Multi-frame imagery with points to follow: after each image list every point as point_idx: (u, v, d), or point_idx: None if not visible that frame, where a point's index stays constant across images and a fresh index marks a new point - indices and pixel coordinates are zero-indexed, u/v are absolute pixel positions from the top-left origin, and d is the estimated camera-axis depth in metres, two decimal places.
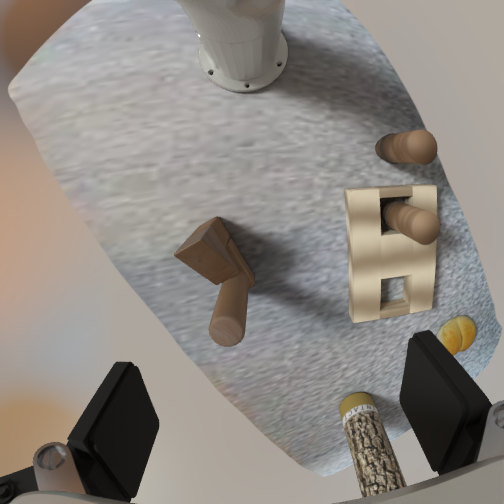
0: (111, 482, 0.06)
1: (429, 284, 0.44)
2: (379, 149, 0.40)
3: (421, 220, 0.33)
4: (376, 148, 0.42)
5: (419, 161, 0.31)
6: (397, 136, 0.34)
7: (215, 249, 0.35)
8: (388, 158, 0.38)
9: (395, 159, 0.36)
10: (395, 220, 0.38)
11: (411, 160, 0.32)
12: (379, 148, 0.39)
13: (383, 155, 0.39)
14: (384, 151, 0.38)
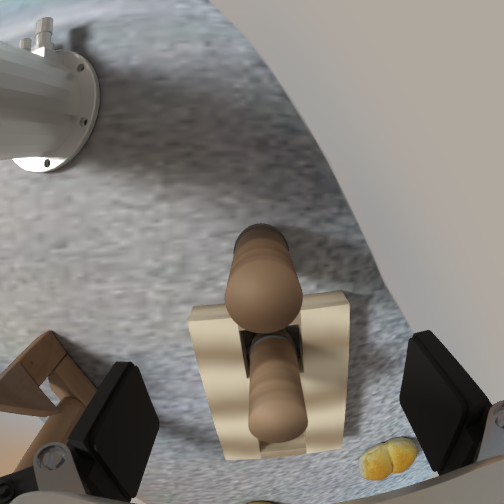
0: (111, 483, 0.06)
1: (336, 426, 0.30)
2: None
3: (265, 416, 0.19)
4: None
5: (253, 329, 0.17)
6: (237, 254, 0.20)
7: (10, 402, 0.20)
8: None
9: None
10: None
11: None
12: None
13: None
14: None
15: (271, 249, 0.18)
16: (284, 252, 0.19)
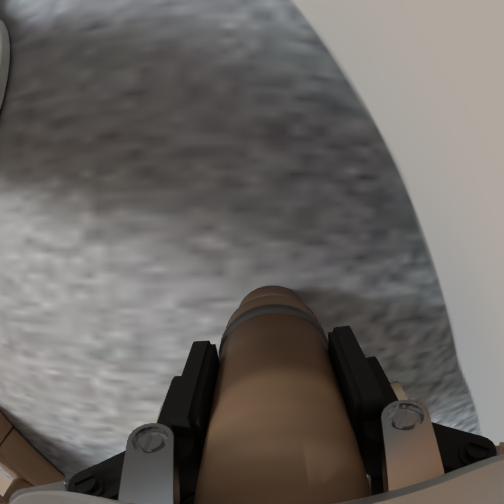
0: None
1: None
2: None
3: None
4: None
5: None
6: (218, 416, 0.07)
7: None
8: None
9: None
10: None
11: None
12: None
13: None
14: None
15: (311, 441, 0.05)
16: (340, 422, 0.06)
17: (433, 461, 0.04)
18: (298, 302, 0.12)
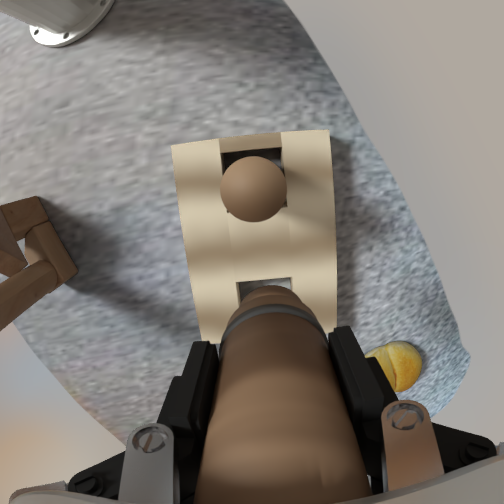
0: None
1: (328, 294, 0.30)
2: None
3: (238, 174, 0.19)
4: None
5: None
6: (218, 416, 0.07)
7: None
8: None
9: None
10: None
11: None
12: None
13: None
14: None
15: (312, 441, 0.05)
16: (340, 422, 0.06)
17: (433, 461, 0.04)
18: (298, 301, 0.12)
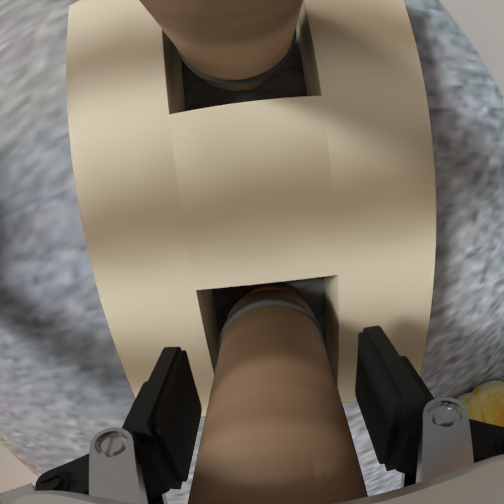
0: (167, 466, 0.07)
1: (414, 313, 0.12)
2: None
3: None
4: None
5: None
6: (216, 400, 0.08)
7: None
8: None
9: None
10: None
11: None
12: None
13: None
14: None
15: (303, 422, 0.06)
16: (332, 407, 0.07)
17: (465, 460, 0.04)
18: (295, 296, 0.13)
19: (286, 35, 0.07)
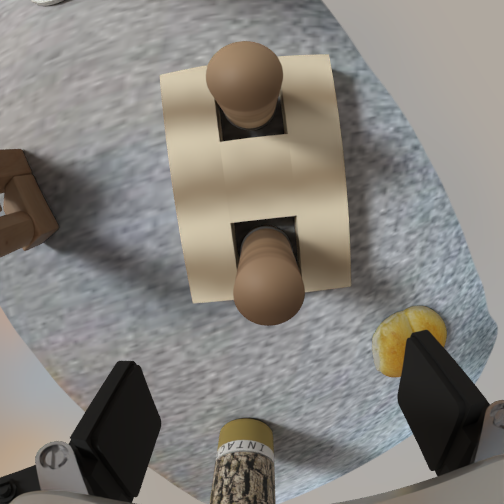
0: (113, 481, 0.06)
1: (340, 238, 0.26)
2: None
3: (227, 59, 0.14)
4: None
5: (259, 321, 0.18)
6: (244, 252, 0.21)
7: None
8: None
9: None
10: None
11: None
12: None
13: None
14: None
15: (276, 248, 0.20)
16: (288, 251, 0.21)
17: None
18: (277, 228, 0.27)
19: (270, 114, 0.21)
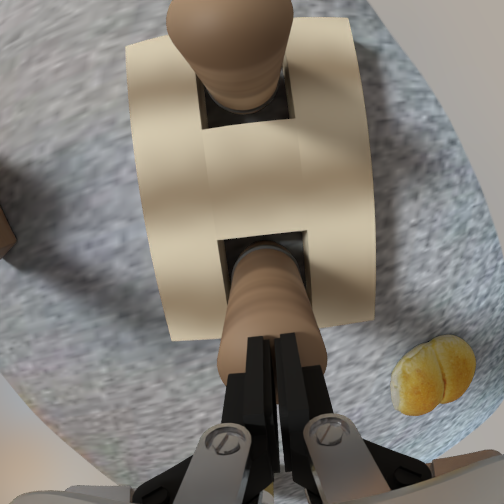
0: (270, 457, 0.07)
1: (363, 259, 0.19)
2: None
3: None
4: None
5: None
6: (235, 290, 0.15)
7: None
8: None
9: None
10: None
11: None
12: None
13: None
14: None
15: (282, 288, 0.13)
16: (299, 289, 0.14)
17: (371, 473, 0.05)
18: (281, 246, 0.20)
19: (272, 88, 0.14)
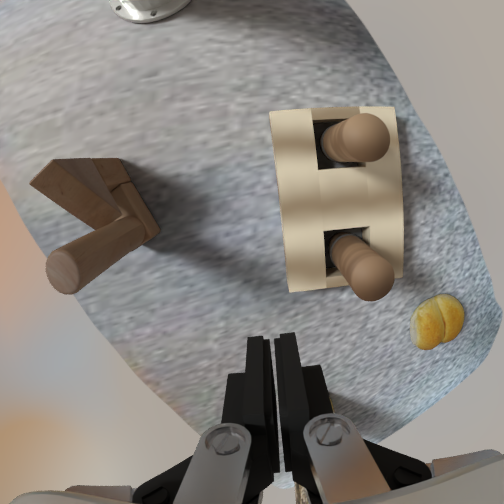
0: (269, 457, 0.07)
1: (397, 242, 0.34)
2: (329, 253, 0.35)
3: (356, 125, 0.23)
4: (329, 246, 0.37)
5: (366, 299, 0.26)
6: (346, 253, 0.30)
7: (78, 177, 0.24)
8: None
9: None
10: (329, 140, 0.28)
11: None
12: (329, 252, 0.35)
13: (333, 262, 0.34)
14: (333, 260, 0.34)
15: (371, 250, 0.28)
16: None
17: (371, 473, 0.05)
18: None
19: None
